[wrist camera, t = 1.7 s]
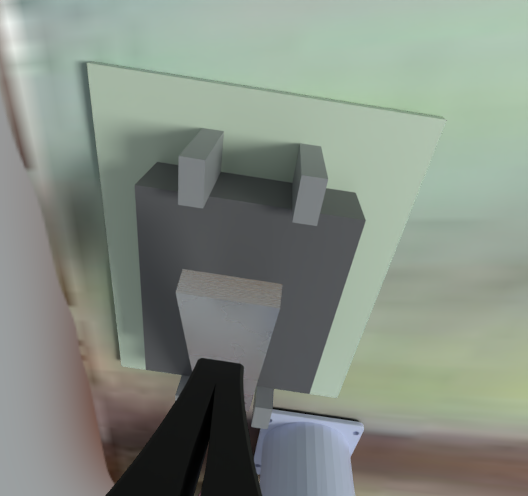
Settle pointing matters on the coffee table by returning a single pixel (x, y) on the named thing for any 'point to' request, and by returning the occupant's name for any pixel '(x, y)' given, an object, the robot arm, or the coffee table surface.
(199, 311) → the block
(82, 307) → the coffee table surface
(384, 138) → the board
